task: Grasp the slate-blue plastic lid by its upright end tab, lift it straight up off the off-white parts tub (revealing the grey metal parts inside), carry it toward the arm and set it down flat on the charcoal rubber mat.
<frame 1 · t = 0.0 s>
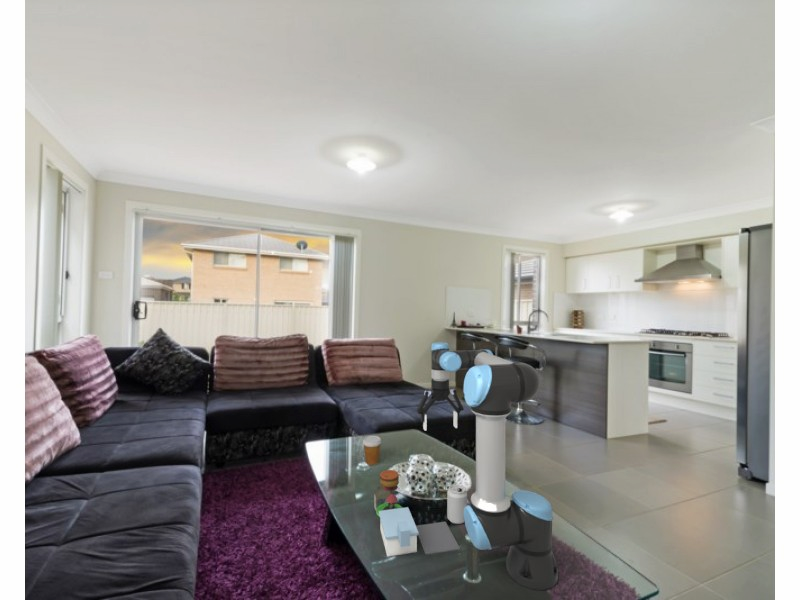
hand: (440, 428, 162), 28 cm above the table, fingers open, 13 cm apart
parts: (397, 534, 132), in the tub, point 2 cm above the table
can: (457, 519, 144), on the table
tub: (397, 540, 132), on the table
disposable coffee cup: (372, 462, 191), on the table
mat: (436, 537, 133), on the table
lid: (397, 523, 132), point 6 cm above the table, touching tub
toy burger: (389, 511, 149), on the table
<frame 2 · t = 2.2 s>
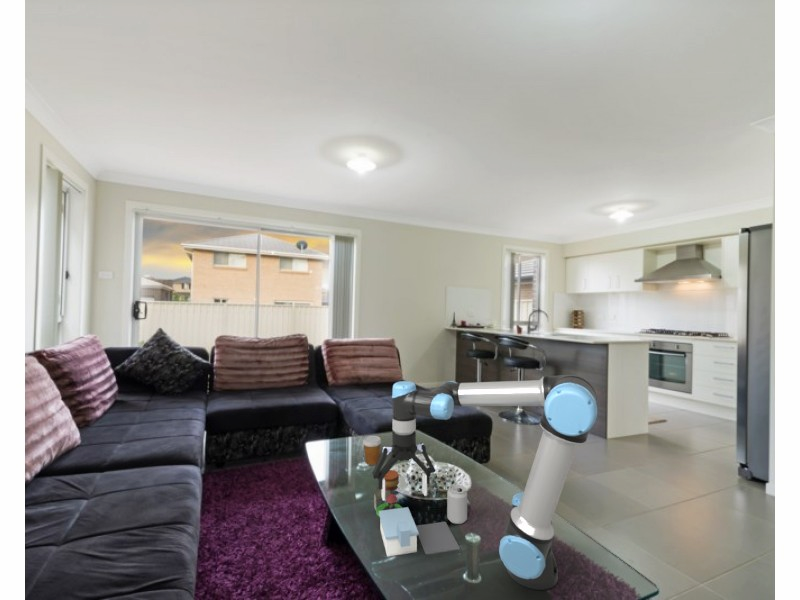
hand: (404, 496, 122), 21 cm above the table, fingers open, 13 cm apart
nothing on the table moved.
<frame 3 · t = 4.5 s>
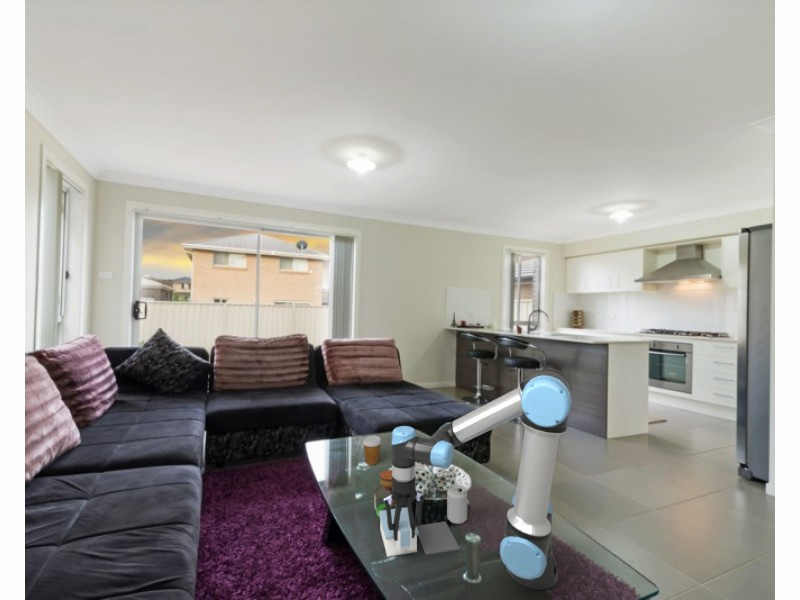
hand: (404, 548, 122), 4 cm above the table, fingers closed on lid, 3 cm apart
lid: (397, 523, 132), point 6 cm above the table, touching gripper, tub
everything else where it was.
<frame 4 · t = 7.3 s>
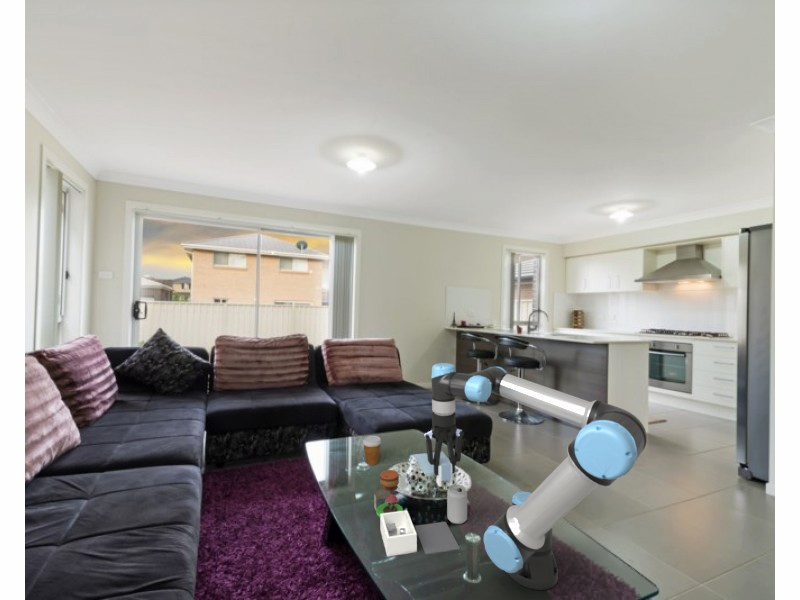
hand: (444, 483, 123), 24 cm above the table, fingers closed on lid, 3 cm apart
lid: (434, 463, 133), point 26 cm above the table, touching gripper
everything else where it was.
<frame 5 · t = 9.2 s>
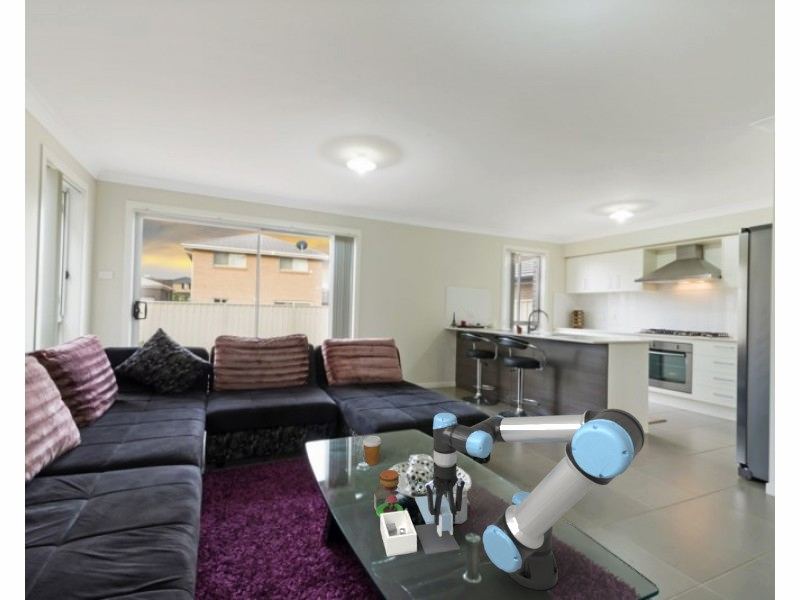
hand: (444, 532, 124), 8 cm above the table, fingers closed on lid, 3 cm apart
lid: (435, 509, 133), point 10 cm above the table, touching gripper
everything else where it was.
when the fingers open (1 cm above the table, at t = 10.4 s): lid drops 3 cm, resting on mat.
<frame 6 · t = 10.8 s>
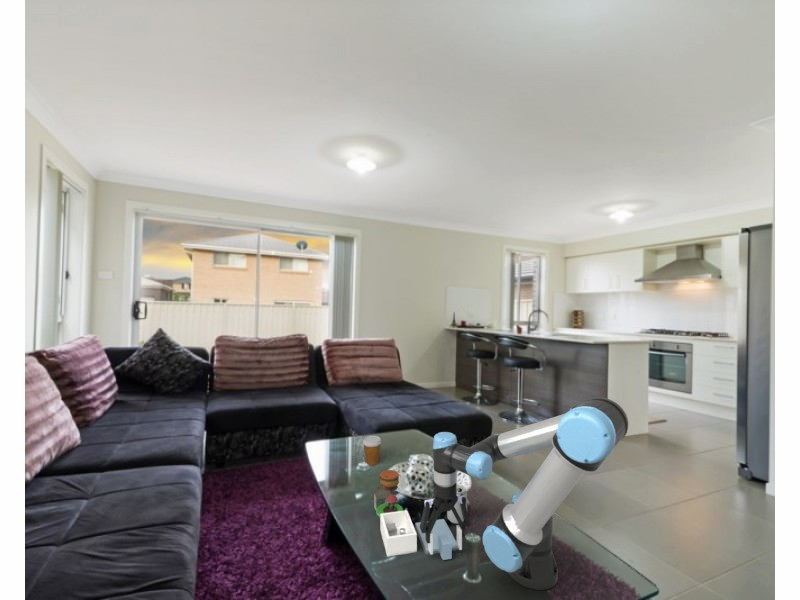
hand: (445, 549, 124), 2 cm above the table, fingers open, 9 cm apart
lid: (435, 535, 134), resting on mat
everything else where it was.
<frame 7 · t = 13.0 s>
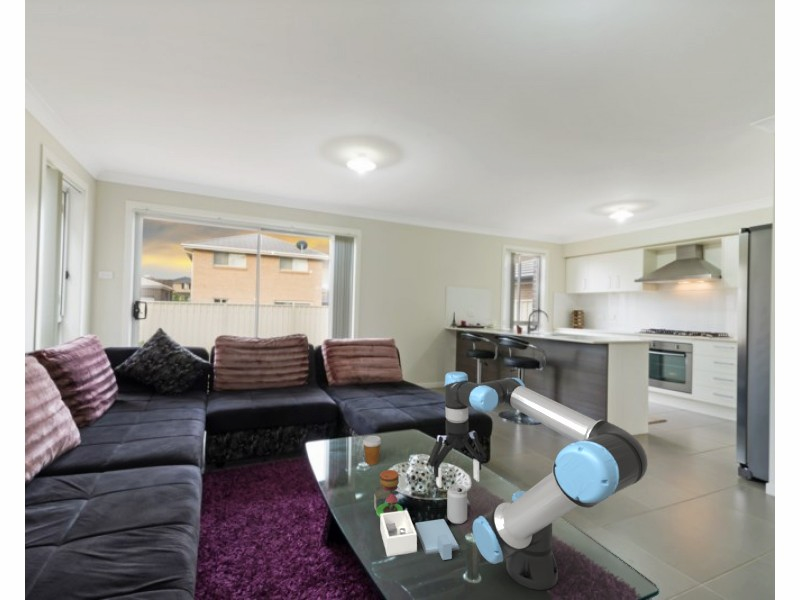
hand: (457, 482, 126), 23 cm above the table, fingers open, 13 cm apart
nothing on the table moved.
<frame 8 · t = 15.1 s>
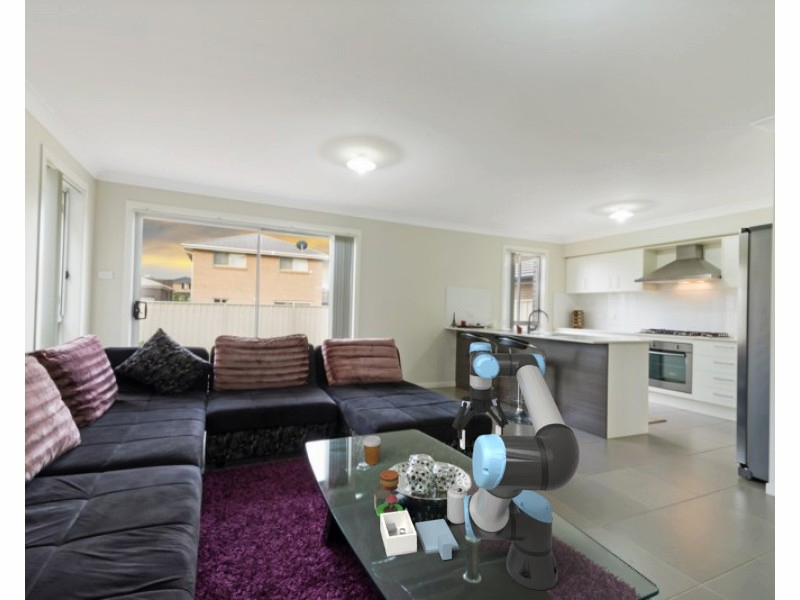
hand: (480, 446, 134), 32 cm above the table, fingers open, 13 cm apart
nothing on the table moved.
at the end: lid inside the target area (0.0 cm from its centre), on the table; lid touching mat; the gripper is holding nothing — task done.
